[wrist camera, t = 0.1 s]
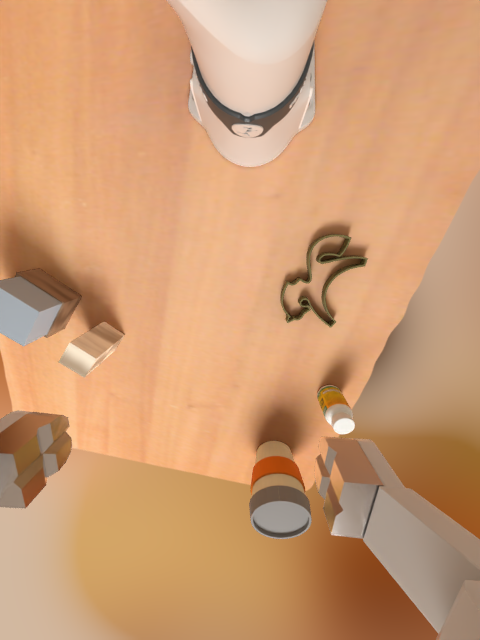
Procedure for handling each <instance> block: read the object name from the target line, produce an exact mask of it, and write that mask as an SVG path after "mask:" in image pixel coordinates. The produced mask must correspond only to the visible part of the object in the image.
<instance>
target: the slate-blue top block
mask: <svg viewBox="0 0 480 640" xmlns="http://www.w3.org/2000/svg"><path fill="white" fill-rule="evenodd" d="M61 305H62V303H61V302H60V301H58V300H57V299H55V298H53V297H52V296H50V295H49V294H47V293H46V292H44V291H42V290H41V289H39V288H38V287H36V286H35V285H33V284H31V283H30V282H28V281H27V280H25V279H23V278H22V277H20V276H19V277H14V278H9V279H4V280H0V333H1V334H3V335H5V336H7V337H8V338H10V339H12V340H13V341H15V342H17V343H19V344H20V345H22V346H25V345H27V344H29V343H31V342H33V341H35V340H37V339H39V338H41V337H43V336H45V335H47V333H48V331H49V329H50V327H51V325H52V323H53V321H54V319H55V317H56V315H57V313H58V311H59V309H60V307H61Z"/></svg>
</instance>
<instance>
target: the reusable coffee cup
mask: <svg viewBox="0 0 480 640" xmlns="http://www.w3.org/2000/svg"><path fill="white" fill-rule="evenodd" d="M251 495H252V498H251V500H250V505H249V506H250V517H251V523H252V526H253V527H254V529H255V530H256V531H257V532H259V533H260V534H262V535H264V536H267V537H270V538H276V539H288V538H293V537H296V536H299V535H301V534H303V533H304V532H305V531H307V529H308V528H309V527H310V525H311V512H310V504H309V500H308V498H307V497H306V495H305V486H304V483H303V480H302V477H301V474H300V471H299V468H298V466H297V465H296V463H295V462H294V459H293V456H292V453H291V450H290V448H289V447H288V446H287V445H286V444H285V443H283V442H280V441H268V442H265V443H263V444H262V445H260V446H259V448H258V449H257V453H256V462H255V466H254V468H253V473H252V482H251Z"/></svg>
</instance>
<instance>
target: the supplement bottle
mask: <svg viewBox="0 0 480 640" xmlns="http://www.w3.org/2000/svg"><path fill="white" fill-rule="evenodd" d="M317 398H318V401H319V403H320V406H321V408H322V411H323V413H324V416H325V418H326V420H327V422H328V423H329V424H330V425H332V427H333V429H334V431H335V432H337V433H339V434H347V433H350V432H351V431H352V430H353V429H354V427H355V423H354V421H353V419H352V417H353V413H352V410H351V408H350V407H349V405H348V403H347V401H346V400H345V398H344V396H343V394H342V393H341V391H340V389H339V388H338V387H336V386H334V385H326V386H323V387H322V388H320V390H319V391H318V393H317Z"/></svg>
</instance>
